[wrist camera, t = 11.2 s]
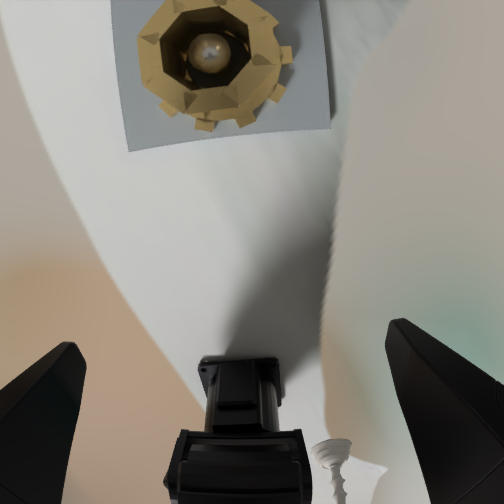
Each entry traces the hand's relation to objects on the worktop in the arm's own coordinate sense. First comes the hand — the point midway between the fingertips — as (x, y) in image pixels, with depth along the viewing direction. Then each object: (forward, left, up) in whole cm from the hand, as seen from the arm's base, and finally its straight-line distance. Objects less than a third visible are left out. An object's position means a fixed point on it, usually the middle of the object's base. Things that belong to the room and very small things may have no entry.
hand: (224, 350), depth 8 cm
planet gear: (+8, 0, -11) cm, 14 cm away
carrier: (+11, 0, -12) cm, 16 cm away
